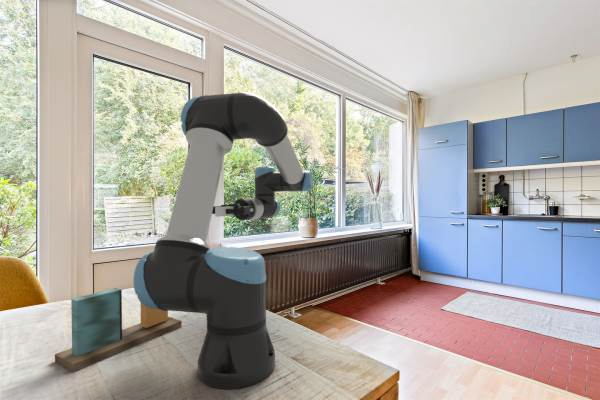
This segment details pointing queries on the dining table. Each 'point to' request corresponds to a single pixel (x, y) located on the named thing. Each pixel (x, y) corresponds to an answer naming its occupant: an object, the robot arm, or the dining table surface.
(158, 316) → the stub
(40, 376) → the dining table surface
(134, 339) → the ticket stand
